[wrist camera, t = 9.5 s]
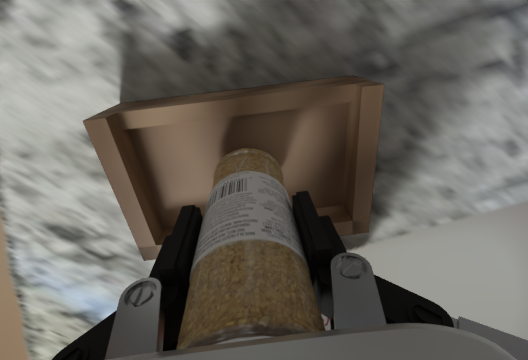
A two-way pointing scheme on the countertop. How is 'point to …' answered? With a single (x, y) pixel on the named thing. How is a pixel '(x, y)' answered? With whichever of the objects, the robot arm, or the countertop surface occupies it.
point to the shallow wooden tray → (236, 137)
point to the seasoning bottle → (248, 260)
